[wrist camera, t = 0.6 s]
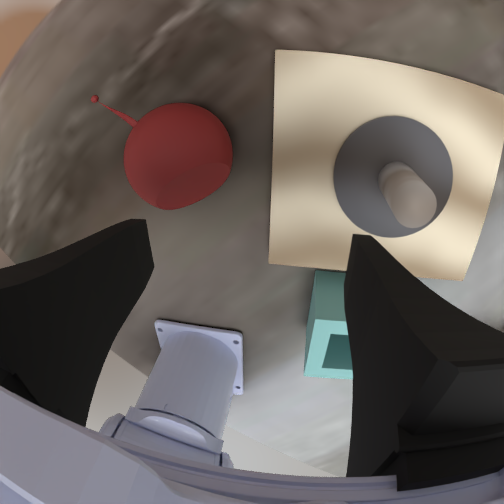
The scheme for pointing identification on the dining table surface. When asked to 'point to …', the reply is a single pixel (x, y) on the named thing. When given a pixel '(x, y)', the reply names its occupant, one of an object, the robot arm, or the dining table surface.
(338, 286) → the collar
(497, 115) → the post base
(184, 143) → the fruit
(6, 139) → the dining table surface
